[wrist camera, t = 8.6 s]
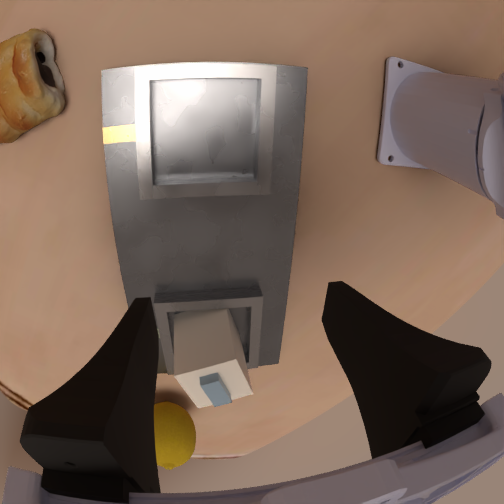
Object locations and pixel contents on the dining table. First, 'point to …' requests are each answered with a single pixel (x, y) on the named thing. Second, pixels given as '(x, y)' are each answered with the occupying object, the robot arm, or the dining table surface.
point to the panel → (206, 191)
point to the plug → (210, 357)
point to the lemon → (173, 435)
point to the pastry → (28, 83)
